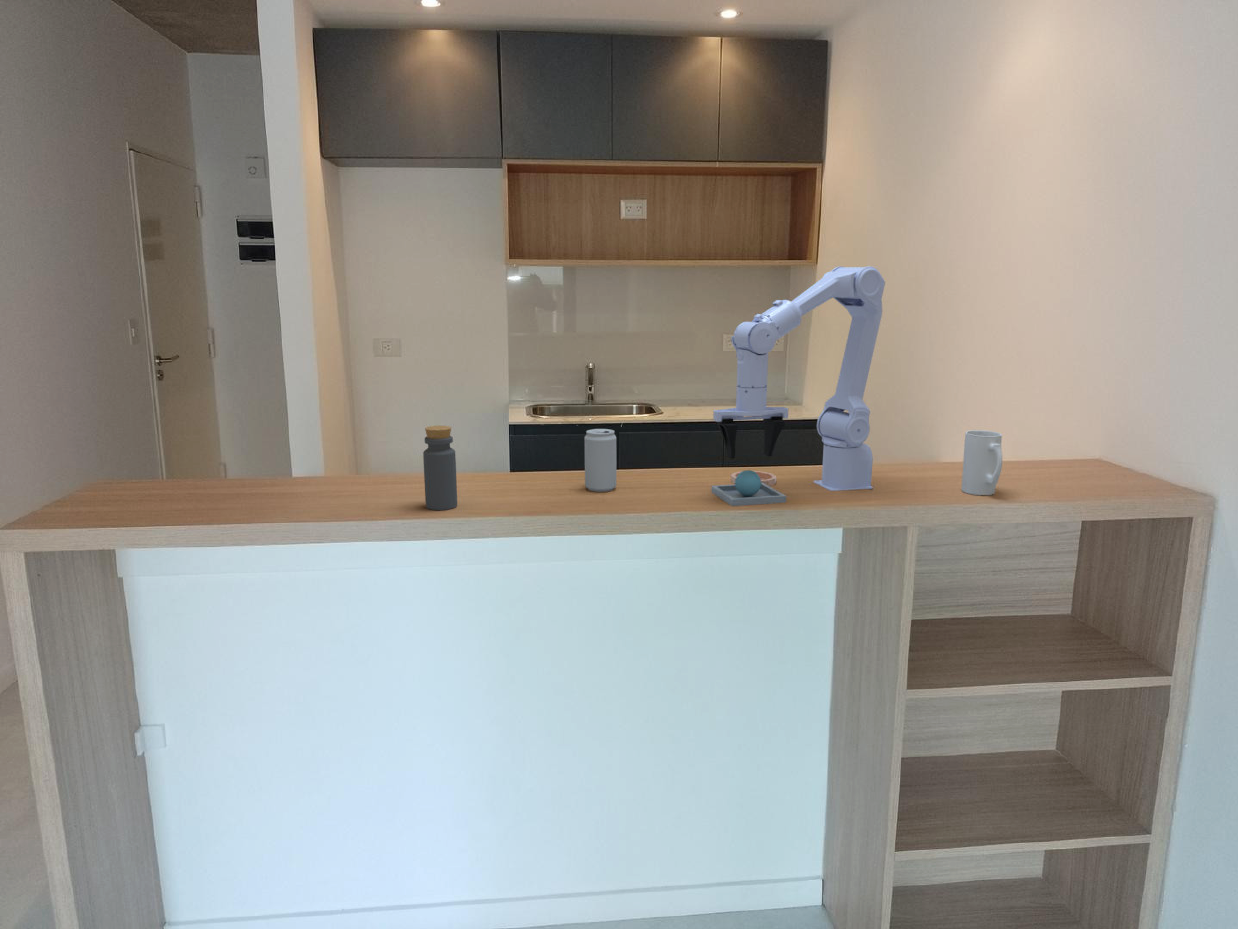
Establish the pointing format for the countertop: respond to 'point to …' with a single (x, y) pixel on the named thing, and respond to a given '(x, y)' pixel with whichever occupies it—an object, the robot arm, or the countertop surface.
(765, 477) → the dish
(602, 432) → the beverage can
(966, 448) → the mug
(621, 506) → the countertop surface
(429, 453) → the bottle
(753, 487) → the ball
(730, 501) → the tray
